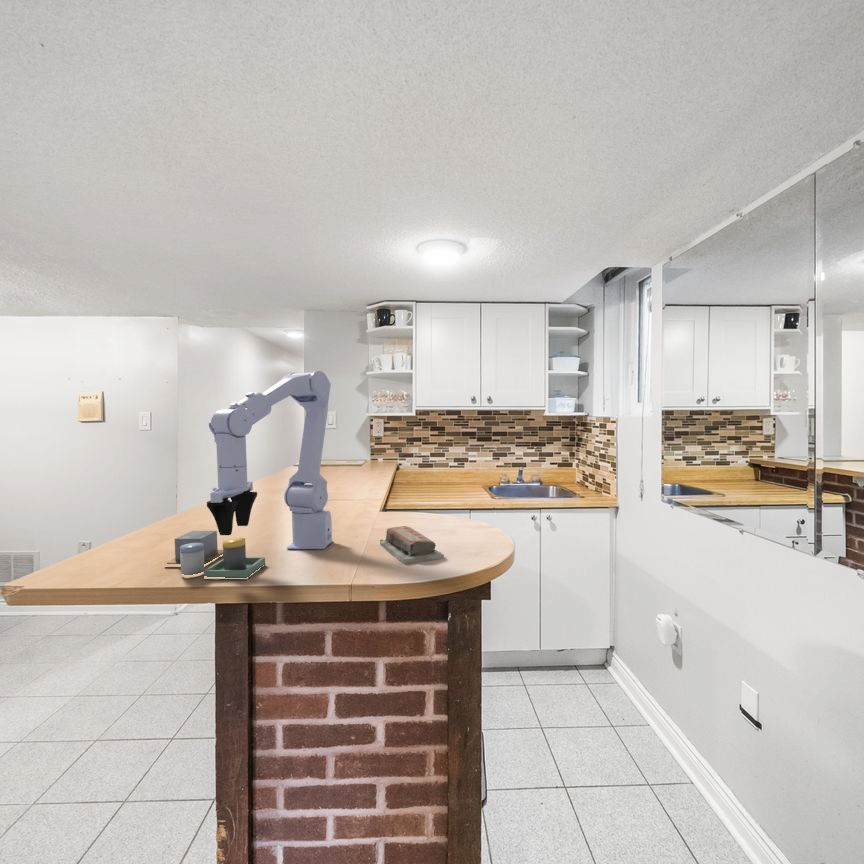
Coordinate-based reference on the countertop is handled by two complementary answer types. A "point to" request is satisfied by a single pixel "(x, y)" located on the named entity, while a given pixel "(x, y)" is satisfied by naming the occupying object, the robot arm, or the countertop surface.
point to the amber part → (234, 554)
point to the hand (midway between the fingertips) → (234, 530)
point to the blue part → (192, 558)
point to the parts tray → (219, 571)
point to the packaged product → (409, 545)
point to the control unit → (198, 537)
